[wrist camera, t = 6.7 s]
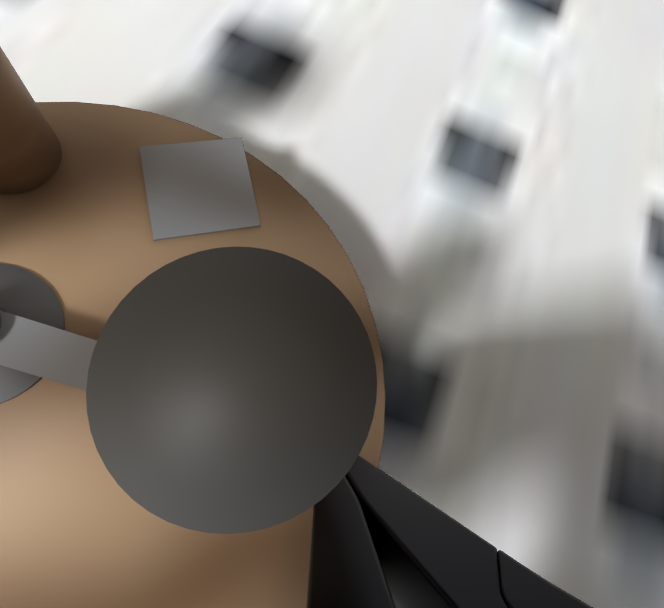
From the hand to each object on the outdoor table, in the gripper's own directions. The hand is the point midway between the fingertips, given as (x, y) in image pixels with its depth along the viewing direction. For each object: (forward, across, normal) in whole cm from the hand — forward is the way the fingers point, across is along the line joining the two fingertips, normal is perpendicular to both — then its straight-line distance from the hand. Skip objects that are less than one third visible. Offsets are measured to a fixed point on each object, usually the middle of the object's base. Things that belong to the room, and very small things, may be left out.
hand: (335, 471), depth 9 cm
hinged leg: (+6, -5, -1) cm, 7 cm away
